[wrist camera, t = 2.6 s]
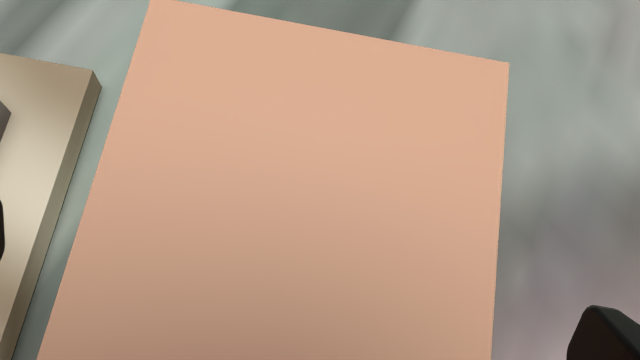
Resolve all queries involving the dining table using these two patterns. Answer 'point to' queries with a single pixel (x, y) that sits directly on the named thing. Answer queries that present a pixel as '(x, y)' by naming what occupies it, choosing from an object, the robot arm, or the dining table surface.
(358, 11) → the dining table surface
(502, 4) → the dining table surface
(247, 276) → the brown rectangular block
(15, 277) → the square socket base
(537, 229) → the dining table surface
